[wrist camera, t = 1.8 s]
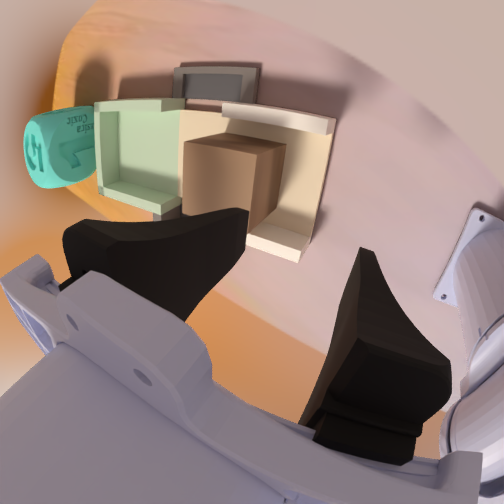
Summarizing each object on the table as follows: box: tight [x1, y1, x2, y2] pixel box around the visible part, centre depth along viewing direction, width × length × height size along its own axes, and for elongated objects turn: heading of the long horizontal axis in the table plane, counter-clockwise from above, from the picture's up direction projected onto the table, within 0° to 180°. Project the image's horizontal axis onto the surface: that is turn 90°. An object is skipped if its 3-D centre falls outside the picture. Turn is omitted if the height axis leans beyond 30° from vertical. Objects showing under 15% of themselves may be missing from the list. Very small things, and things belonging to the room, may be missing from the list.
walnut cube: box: [182, 133, 287, 234], centre depth 19 cm, size 5×5×5 cm
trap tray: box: [94, 66, 336, 263], centre depth 22 cm, size 22×16×3 cm
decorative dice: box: [24, 106, 96, 188], centre depth 25 cm, size 8×8×8 cm
